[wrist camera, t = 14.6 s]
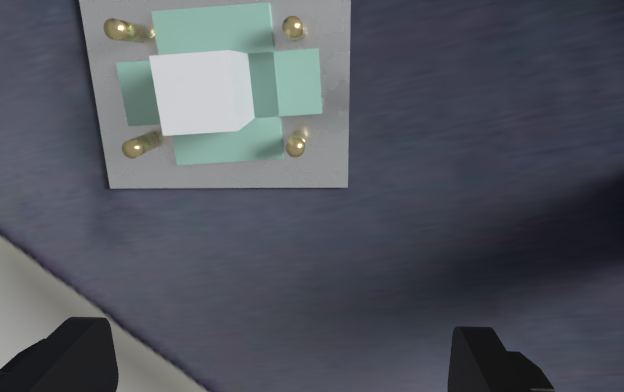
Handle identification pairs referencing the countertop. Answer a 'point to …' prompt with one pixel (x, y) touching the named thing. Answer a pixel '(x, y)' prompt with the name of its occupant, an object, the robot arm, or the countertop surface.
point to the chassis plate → (295, 129)
